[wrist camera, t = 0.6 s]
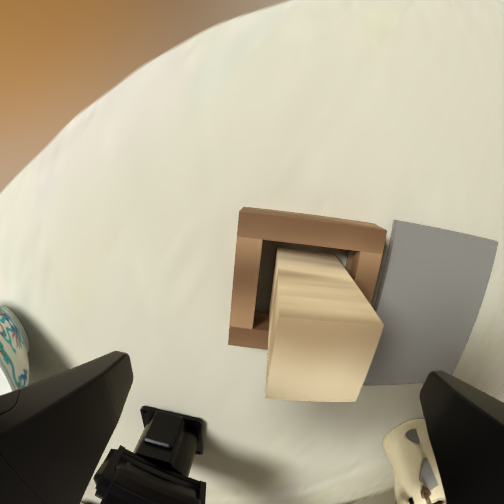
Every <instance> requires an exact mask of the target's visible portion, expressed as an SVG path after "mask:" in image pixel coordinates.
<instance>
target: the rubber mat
mask: <svg viewBox="0 0 504 504" xmlns="http://www.w3.org/2000/svg"><path fill="white" fill-rule="evenodd" d="M497 246H498V242H497V241H494V240H490V239H486V238H482V237H477V236H473V235H468V234H464V233H459V232H454V231H450V230H445V229H440V228H435V227H430V226H425V225H420V224H414V223H409V222H403V221H398V220H394V222H393V227H392V233H391V238H390V244H389V249H388V254H387V258H386V263H385V268H384V272H383V276H382V280H381V285H380V289H379V293H378V296H377V300H376V304H375V308H374V311H375V312H376V314H377V315H378V317H379V318H380V320H381V321H382V323H383V324H384V327H383V330H382V333H381V336H380V339H379V342H378V345H377V348H376V351H375V354H374V356H373V359H372V362H371V365H370V367H369V370H368V372H367V375H366V378H365V380H364V383H363V385H395V384H412V383H424V382H425V380H426V378H427V376H428V374H429V373H430V372H432V371H438V370H442V371H444V372H446V373H448V374H450V375H452V373H453V371H454V369H455V367H456V365H457V363H458V361H459V359H460V357H461V354H462V352H463V350H464V348H465V345H466V343H467V341H468V338H469V336H470V333H471V331H472V328H473V326H474V323H475V321H476V318H477V315H478V312H479V310H480V307H481V304H482V301H483V298H484V295H485V291H486V288H487V285H488V281H489V278H490V274H491V271H492V267H493V263H494V259H495V254H496V250H497Z"/></svg>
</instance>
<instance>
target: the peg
mask: <svg viewBox="0 0 504 504" xmlns="http://www.w3.org/2000/svg"><path fill="white" fill-rule="evenodd" d="M383 327H384V324H383V323H382V321H381V320H380V318H379V317H378V315H377V314H376V312H375V311H374V309H373V308H372V306H371V305H370V303H369V302H368V300H367V299H366V298H365V296H364V295H363V293H362V292H361V290H360V289H359V288H358V286H357V285H356V283H355V282H354V281H353V279H352V278H351V276H350V275H349V274H348V272H347V271H346V269H345V268H344V267H343V265H342V264H341V263H340V261H339V260H338V259H337V257H336V256H335V255H334V254H328V253H319V252H311V251H302V250H294V249H285V248H277V252H276V260H275V268H274V276H273V283H272V291H271V298H270V315H269V337H268V358H267V376H266V394H265V398H270V399H281V400H295V401H316V402H356V399H357V397H358V395H359V392H360V390H361V387H362V385H363V383H364V380H365V378H366V375H367V372H368V370H369V367H370V365H371V362H372V359H373V356H374V354H375V351H376V348H377V345H378V342H379V339H380V336H381V333H382V330H383Z"/></svg>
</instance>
